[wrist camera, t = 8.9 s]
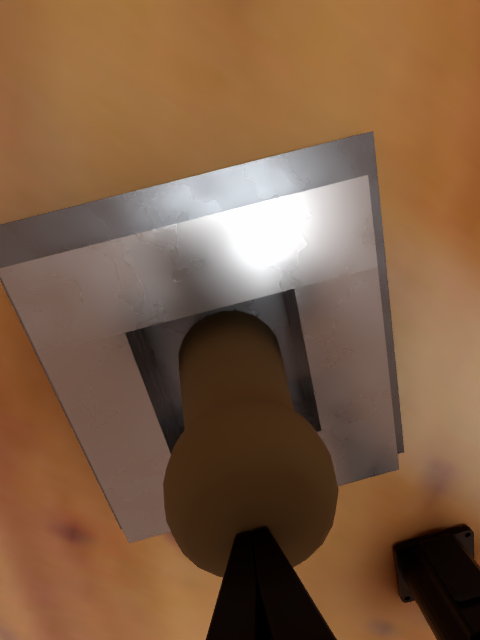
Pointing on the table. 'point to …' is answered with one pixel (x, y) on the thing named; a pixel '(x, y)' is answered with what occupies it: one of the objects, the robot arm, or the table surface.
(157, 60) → the table surface
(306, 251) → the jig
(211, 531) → the cork
